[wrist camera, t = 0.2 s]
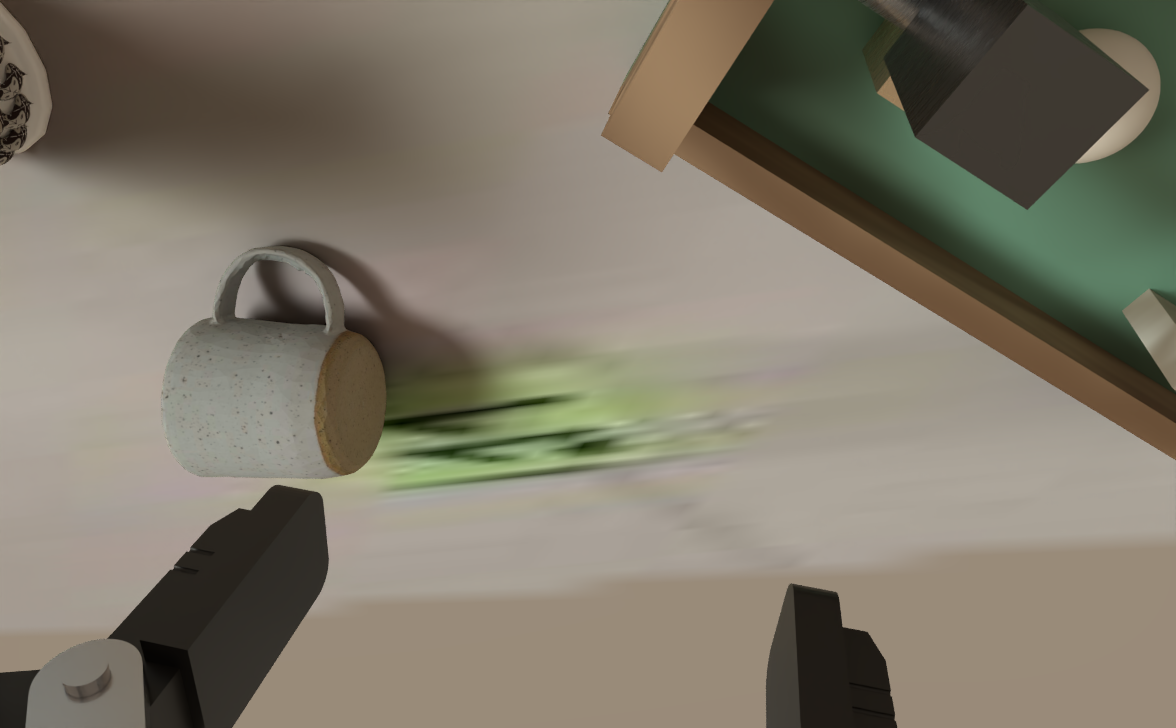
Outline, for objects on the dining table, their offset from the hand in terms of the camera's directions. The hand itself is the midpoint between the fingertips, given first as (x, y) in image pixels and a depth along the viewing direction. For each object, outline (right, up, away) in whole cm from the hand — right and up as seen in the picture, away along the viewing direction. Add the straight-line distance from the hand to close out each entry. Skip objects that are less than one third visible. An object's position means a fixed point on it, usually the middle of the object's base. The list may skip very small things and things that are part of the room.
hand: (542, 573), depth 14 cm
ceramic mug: (-14, +5, +28) cm, 31 cm away
